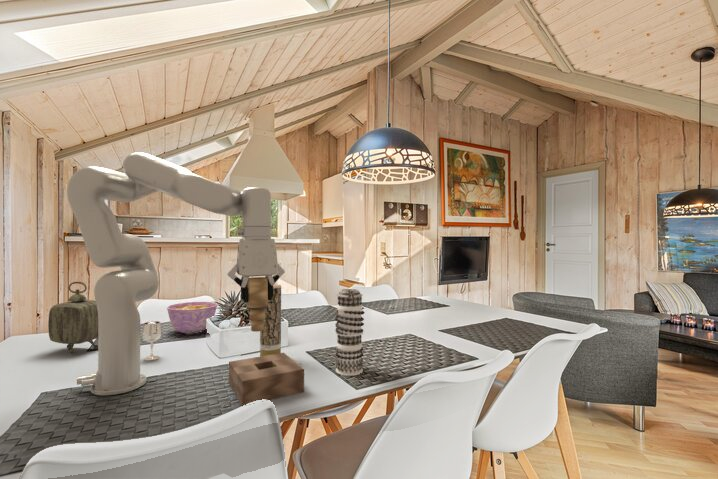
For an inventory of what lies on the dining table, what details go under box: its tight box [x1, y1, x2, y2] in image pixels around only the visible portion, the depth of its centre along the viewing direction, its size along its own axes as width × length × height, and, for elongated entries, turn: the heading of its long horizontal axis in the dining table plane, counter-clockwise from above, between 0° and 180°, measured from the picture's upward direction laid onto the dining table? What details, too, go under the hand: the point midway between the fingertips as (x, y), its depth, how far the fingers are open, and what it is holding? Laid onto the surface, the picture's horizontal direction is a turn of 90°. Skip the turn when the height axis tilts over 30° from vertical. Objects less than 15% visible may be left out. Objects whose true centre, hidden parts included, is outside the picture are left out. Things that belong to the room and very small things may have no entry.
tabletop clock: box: [47, 281, 99, 354], centre depth 126 cm, size 14×9×25 cm, turn 84°
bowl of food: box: [166, 301, 218, 333], centre depth 153 cm, size 20×20×12 cm
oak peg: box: [245, 276, 268, 333], centre depth 94 cm, size 6×6×14 cm
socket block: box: [228, 352, 305, 406], centre depth 96 cm, size 16×16×6 cm
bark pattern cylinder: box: [259, 283, 282, 357], centre depth 118 cm, size 7×7×25 cm
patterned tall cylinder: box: [334, 288, 365, 377], centre depth 109 cm, size 9×9×25 cm
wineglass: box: [141, 320, 163, 361], centre depth 119 cm, size 6×6×12 cm
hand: (257, 300), depth 95 cm, fingers closed on oak peg, 5 cm apart
